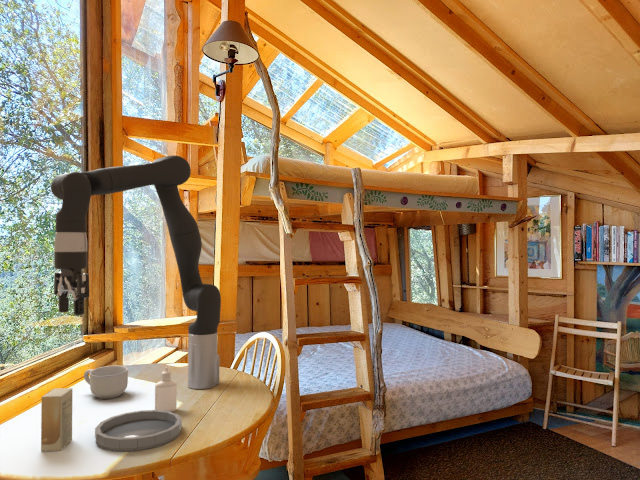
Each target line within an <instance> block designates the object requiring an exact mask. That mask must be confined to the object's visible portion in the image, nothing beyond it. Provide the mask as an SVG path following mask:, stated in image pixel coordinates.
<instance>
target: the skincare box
mask: <svg viewBox="0 0 640 480" xmlns="http://www.w3.org/2000/svg"><path fill="white" fill-rule="evenodd" d="M40 408H41V409H40V411H41V414H40V415H41V418H40V419H41V420H40V421H41V422H40V423H41V424H40V425H41V427H40V429H41V431H40V433H41V435H40V436H41V437H40V439H41V441H40V446H41V447H40V451H41V452H60V451H62V450H63V449H65V447H66V446H68V445H69V443H70V442H71V441H72V440H73V388H71V387H70V388H68V387H67V388H60V387H59V388H52V389H51V390H49V391H48V392H47V393H45V394H44V395H42V396H41V407H40Z"/></svg>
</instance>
